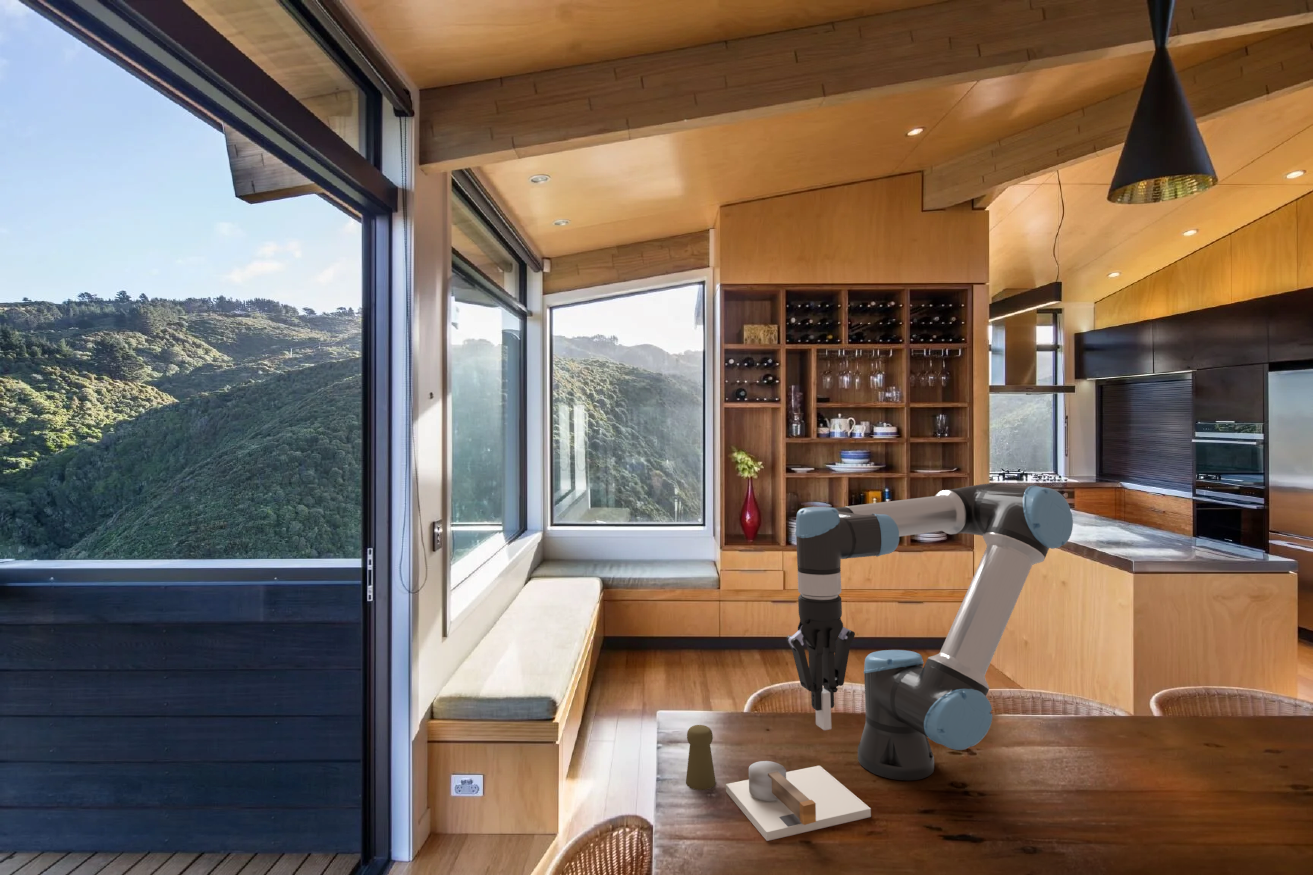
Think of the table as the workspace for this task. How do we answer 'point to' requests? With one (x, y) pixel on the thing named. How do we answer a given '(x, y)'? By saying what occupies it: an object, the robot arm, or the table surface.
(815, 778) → the base plate
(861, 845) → the table surface
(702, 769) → the olive pawn
